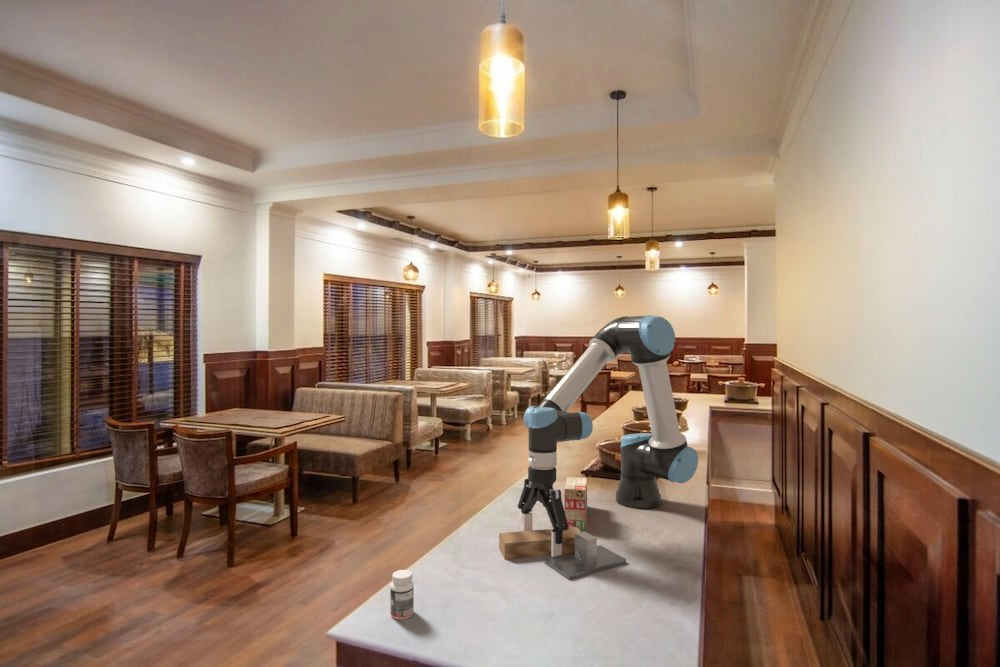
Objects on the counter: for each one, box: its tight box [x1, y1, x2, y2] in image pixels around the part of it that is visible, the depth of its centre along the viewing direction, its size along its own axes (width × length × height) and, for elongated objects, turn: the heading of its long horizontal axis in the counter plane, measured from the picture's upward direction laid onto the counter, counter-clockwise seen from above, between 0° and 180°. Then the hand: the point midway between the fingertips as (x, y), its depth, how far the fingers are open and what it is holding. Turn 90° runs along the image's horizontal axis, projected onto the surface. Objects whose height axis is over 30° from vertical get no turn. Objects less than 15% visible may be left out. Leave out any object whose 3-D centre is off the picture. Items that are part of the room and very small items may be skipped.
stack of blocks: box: [563, 476, 588, 531], centre depth 166 cm, size 21×6×12 cm, turn 169°
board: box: [498, 527, 582, 560], centre depth 141 cm, size 22×7×4 cm, turn 102°
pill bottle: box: [389, 569, 415, 620], centre depth 109 cm, size 5×5×8 cm
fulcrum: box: [544, 530, 627, 581], centre depth 133 cm, size 18×10×7 cm, turn 119°
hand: (541, 546), depth 141 cm, fingers open, 13 cm apart
